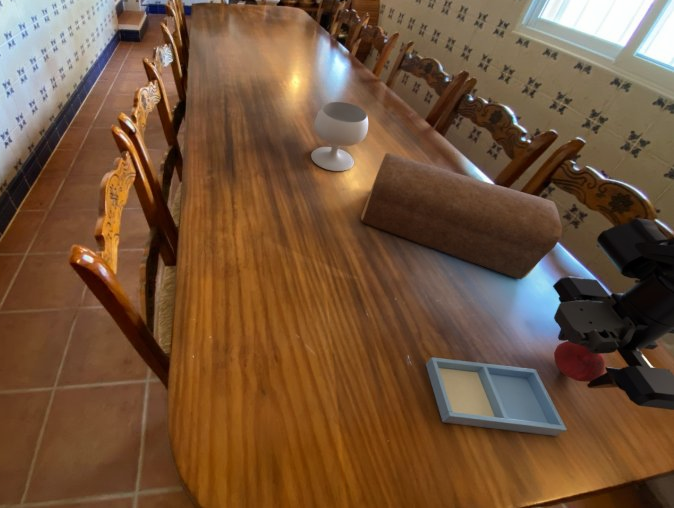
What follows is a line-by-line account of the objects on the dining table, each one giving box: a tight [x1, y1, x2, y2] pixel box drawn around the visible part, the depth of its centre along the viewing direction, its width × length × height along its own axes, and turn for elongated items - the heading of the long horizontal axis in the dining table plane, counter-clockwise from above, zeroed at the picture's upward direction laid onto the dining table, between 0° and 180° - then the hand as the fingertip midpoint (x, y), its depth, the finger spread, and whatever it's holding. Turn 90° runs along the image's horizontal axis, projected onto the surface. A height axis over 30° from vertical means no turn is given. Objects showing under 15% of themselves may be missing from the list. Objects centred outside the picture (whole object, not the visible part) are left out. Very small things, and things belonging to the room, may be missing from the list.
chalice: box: [310, 101, 369, 172], centre depth 97 cm, size 14×14×15 cm
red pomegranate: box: [553, 340, 606, 383], centre depth 56 cm, size 6×6×8 cm
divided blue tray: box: [425, 356, 568, 437], centre depth 54 cm, size 8×16×2 cm, turn 85°
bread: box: [360, 152, 563, 280], centre depth 78 cm, size 14×34×14 cm, turn 63°
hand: (575, 362), depth 57 cm, fingers open, 7 cm apart
